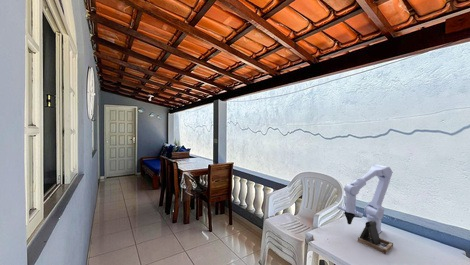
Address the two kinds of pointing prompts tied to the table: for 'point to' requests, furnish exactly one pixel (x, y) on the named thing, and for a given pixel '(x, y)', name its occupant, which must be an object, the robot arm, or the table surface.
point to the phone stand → (371, 230)
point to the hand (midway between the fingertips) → (349, 223)
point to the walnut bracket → (385, 250)
